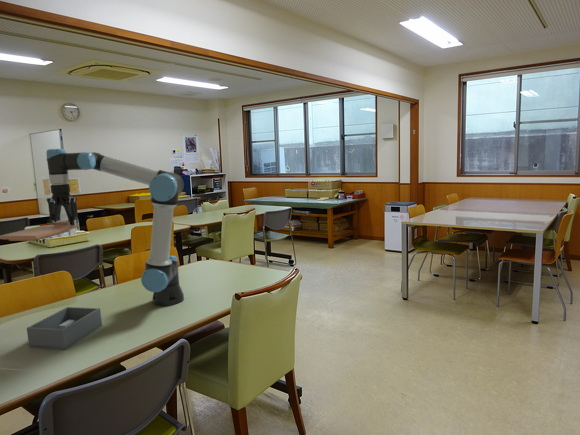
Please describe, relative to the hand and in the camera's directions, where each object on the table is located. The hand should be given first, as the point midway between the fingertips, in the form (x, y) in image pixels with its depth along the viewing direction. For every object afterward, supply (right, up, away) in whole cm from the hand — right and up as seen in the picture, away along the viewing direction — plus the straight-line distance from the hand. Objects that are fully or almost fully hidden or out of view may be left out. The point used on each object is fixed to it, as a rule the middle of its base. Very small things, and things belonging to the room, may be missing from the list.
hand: (66, 234), depth 188 cm
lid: (-2, +1, -12) cm, 12 cm away
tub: (+11, -41, -19) cm, 46 cm away
